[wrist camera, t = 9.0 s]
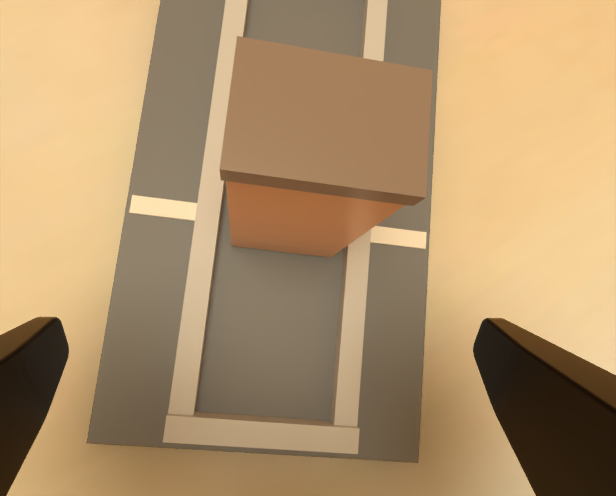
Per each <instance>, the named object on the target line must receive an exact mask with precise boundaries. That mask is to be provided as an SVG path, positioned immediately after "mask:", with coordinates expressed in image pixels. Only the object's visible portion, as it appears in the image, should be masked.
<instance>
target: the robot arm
mask: <svg viewBox="0 0 616 496" xmlns="http://www.w3.org/2000/svg"><path fill="white" fill-rule="evenodd" d="M473 353H474V357H475V360H476V363H477V366H478V369H479V371H480V374H481V377H482V380H483V382H484V385H485V388H486V391H487V394H488V396H489V399H490V402H491V404H492V407H493V409H494V412H495V414H496V416H497V418H498V420H499V422H500V424H501V426H502V428H503V430H504V432H505V434H506V436H507V438H508V440H509V442H510V444H511V446H512V448H513V450H514V452H515V454H516V456H517V458H518V460H519V462H520V464H521V466H522V468H523V470H524V472H525V475H526V477H527V479H528V481H529V483H530V485H531V487H532V489H533V491H534V493H535V495H536V496H616V375H614V374H612V373H610V372H608V371H606V370H604V369H602V368H600V367H598V366H596V365H594V364H592V363H590V362H588V361H586V360H584V359H582V358H580V357H578V356H576V355H574V354H572V353H570V352H568V351H566V350H564V349H562V348H560V347H558V346H556V345H555V344H553V343H551V342H549V341H547V340H545V339H543V338H541V337H539V336H537V335H535V334H533V333H531V332H529V331H527V330H525V329H523V328H521V327H519V326H517V325H515V324H513V323H511V322H509V321H507V320H505V319H502V318H486V319H484V320H483V321H482V323H481V326H480V329H479V332H478V334H477V337H476V340H475V343H474V347H473ZM68 354H69V347H68V343H67V339H66V336H65V333H64V329H63V326H62V323H61V321H60V319H59V318H57V317H37V318H34V319H32V320H30V321H28V322H26V323H24V324H22V325H20V326H18V327H16V328H14V329H12V330H10V331H8V332H6V333H4V334H2V335H0V496H6V495H7V493H8V491H9V489H10V487H11V485H12V483H13V482H14V480H15V478H16V476H17V474H18V472H19V470H20V468H21V466H22V464H23V462H24V460H25V458H26V456H27V454H28V452H29V450H30V448H31V446H32V444H33V442H34V440H35V439H36V437H37V435H38V433H39V431H40V429H41V427H42V425H43V422H44V420H45V418H46V416H47V413H48V411H49V408H50V406H51V403H52V400H53V397H54V395H55V392H56V389H57V386H58V384H59V381H60V378H61V376H62V373H63V370H64V367H65V365H66V362H67V359H68Z"/></svg>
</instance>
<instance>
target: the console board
mask: <svg viewBox="0 0 616 496" xmlns="http://www.w3.org/2000/svg"><path fill="white" fill-rule="evenodd" d="M440 11H441V0H160V6H159V12H158V18H157V24H156V30H155V36H154V42H153V48H152V54H151V60H150V66H149V72H148V78H147V84H146V90H145V96H144V102H143V108H142V114H141V120H140V126H139V132H138V138H137V144H136V150H135V156H134V162H133V168H132V174H131V180H130V186H129V192H128V198H127V204H126V210H125V216H124V222H123V228H122V234H121V240H120V246H119V252H118V258H117V264H116V270H115V276H114V282H113V288H112V294H111V300H110V306H109V312H108V318H107V324H106V330H105V336H104V342H103V348H102V354H101V360H100V366H99V372H98V378H97V384H96V390H95V396H94V402H93V408H92V414H91V420H90V426H89V432H88V438H87V443H93V444H110V445H126V446H143V447H160V448H177V449H194V450H211V451H228V452H245V453H261V454H278V455H295V456H312V457H329V458H346V459H363V460H380V461H396V462H413V463H418V457H419V437H420V417H421V396H422V376H423V356H424V336H425V315H426V295H427V275H428V255H429V234H430V214H431V194H432V174H433V153H434V133H435V113H436V93H437V72H438V52H439V32H440ZM237 36H240V37H246V38H252V39H258V40H263V41H269V42H275V43H280V44H286V45H292V46H298V47H303V48H309V49H315V50H320V51H326V52H332V53H338V54H343V55H349V56H355V57H360V58H366V59H372V60H378V61H383V62H389V63H395V64H400V65H406V66H412V67H418V68H423V69H429V70H433V73H432V93H431V112H430V132H429V151H428V170H427V190H426V198H425V199H423V200H422V201H420V202H419V203H417V204H416V205H414V206H408V205H404V206H403V207H401V208H400V209H399V210H397V211H396V212H394V213H393V214H392V215H390V216H389V217H387V218H386V219H385V220H383V221H382V222H380V223H379V224H377V225H376V226H375V227H373V228H372V229H370V230H369V231H368V232H366V233H365V234H363V235H362V236H360V237H359V238H358V239H356V240H355V241H353V242H352V243H351V244H349V245H348V246H346V247H345V248H343V249H342V250H341V251H339V252H338V253H336V254H335V255H334V256H332V257H331V258H329V257H321V256H312V255H304V254H295V253H286V252H278V251H269V250H261V249H252V248H243V247H235V246H231V236H230V224H229V212H228V200H227V188H226V181H222V180H221V178H220V170H219V169H220V161H221V154H222V146H223V138H224V131H225V123H226V116H227V108H228V101H229V93H230V86H231V78H232V71H233V63H234V56H235V48H236V41H237Z"/></svg>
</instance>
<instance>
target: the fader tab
mask: <svg viewBox="0 0 616 496" xmlns="http://www.w3.org/2000/svg"><path fill="white" fill-rule="evenodd" d="M432 73H433V70H429V69H423V68H418V67H412V66H406V65H400V64H395V63H389V62H383V61H378V60H372V59H366V58H360V57H355V56H349V55H343V54H338V53H332V52H326V51H320V50H315V49H309V48H303V47H298V46H292V45H286V44H280V43H275V42H269V41H263V40H258V39H252V38H246V37H240V36H237V41H236V48H235V56H234V63H233V71H232V78H231V86H230V93H229V101H228V108H227V116H226V123H225V131H224V138H223V146H222V154H221V161H220V169H219V170H220V178H221V180H222V181H226V188H227V200H228V212H229V224H230V236H231V246H235V247H243V248H252V249H261V250H269V251H278V252H286V253H295V254H304V255H312V256H321V257H329V258H331V257H332V256H334V255H335V254H336V253H338V252H339V251H341V250H342V249H343V248H345V247H346V246H348V245H349V244H351V243H352V242H353V241H355V240H356V239H358V238H359V237H360V236H362V235H363V234H365V233H366V232H368V231H369V230H370V229H372V228H373V227H375V226H376V225H377V224H379V223H380V222H382V221H383V220H385V219H386V218H387V217H389V216H390V215H392V214H393V213H394V212H396V211H397V210H399V209H400V208H401V207H403V206H404V205H408V206H414V205H416V204H417V203H419V202H420V201H422V200H423V199H425V198H426V190H427V170H428V151H429V132H430V112H431V93H432Z"/></svg>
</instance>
